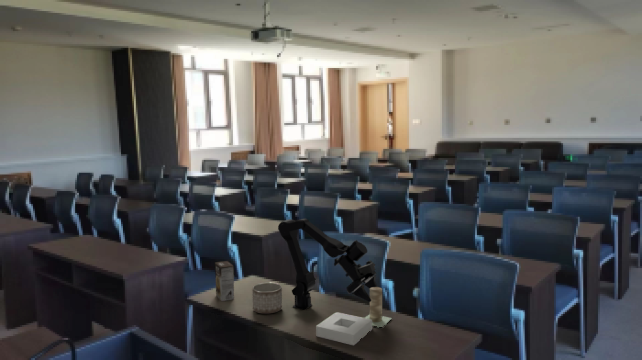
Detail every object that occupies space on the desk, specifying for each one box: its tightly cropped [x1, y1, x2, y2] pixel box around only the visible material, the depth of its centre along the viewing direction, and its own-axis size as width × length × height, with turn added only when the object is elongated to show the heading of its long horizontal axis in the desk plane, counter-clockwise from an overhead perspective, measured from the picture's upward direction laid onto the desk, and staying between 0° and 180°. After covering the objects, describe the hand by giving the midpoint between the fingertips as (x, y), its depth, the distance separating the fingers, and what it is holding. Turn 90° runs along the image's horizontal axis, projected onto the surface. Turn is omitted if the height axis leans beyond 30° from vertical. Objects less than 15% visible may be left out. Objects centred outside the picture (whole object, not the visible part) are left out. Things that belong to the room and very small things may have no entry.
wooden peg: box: [369, 286, 383, 322], centre depth 199 cm, size 5×5×13 cm
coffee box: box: [214, 260, 235, 302], centre depth 228 cm, size 9×6×16 cm
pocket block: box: [315, 311, 373, 346], centre depth 189 cm, size 16×16×4 cm
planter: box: [251, 281, 283, 314], centre depth 213 cm, size 13×13×10 cm
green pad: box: [364, 313, 393, 328], centre depth 200 cm, size 10×10×1 cm
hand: (375, 297), depth 199 cm, fingers open, 9 cm apart
